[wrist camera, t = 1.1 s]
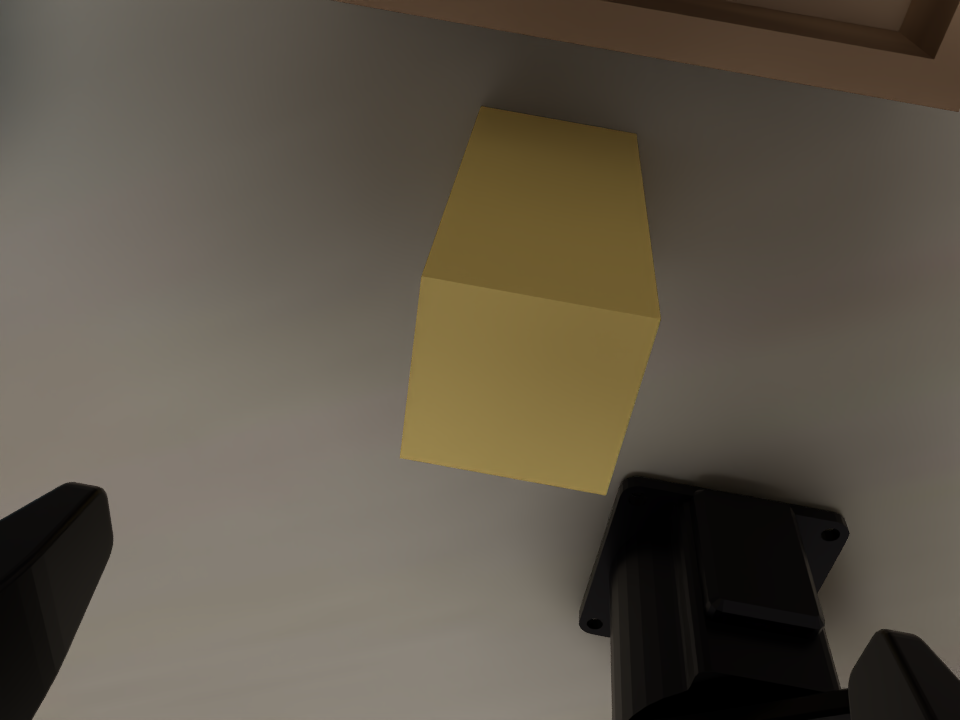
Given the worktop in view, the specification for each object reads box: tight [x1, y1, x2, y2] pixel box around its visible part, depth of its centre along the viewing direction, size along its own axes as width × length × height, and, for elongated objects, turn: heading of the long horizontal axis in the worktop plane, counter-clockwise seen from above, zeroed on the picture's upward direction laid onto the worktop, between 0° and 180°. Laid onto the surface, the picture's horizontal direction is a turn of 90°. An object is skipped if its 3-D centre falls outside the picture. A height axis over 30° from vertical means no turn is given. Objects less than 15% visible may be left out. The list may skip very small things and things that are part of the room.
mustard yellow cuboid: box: [400, 106, 661, 495], centre depth 17 cm, size 4×4×8 cm
